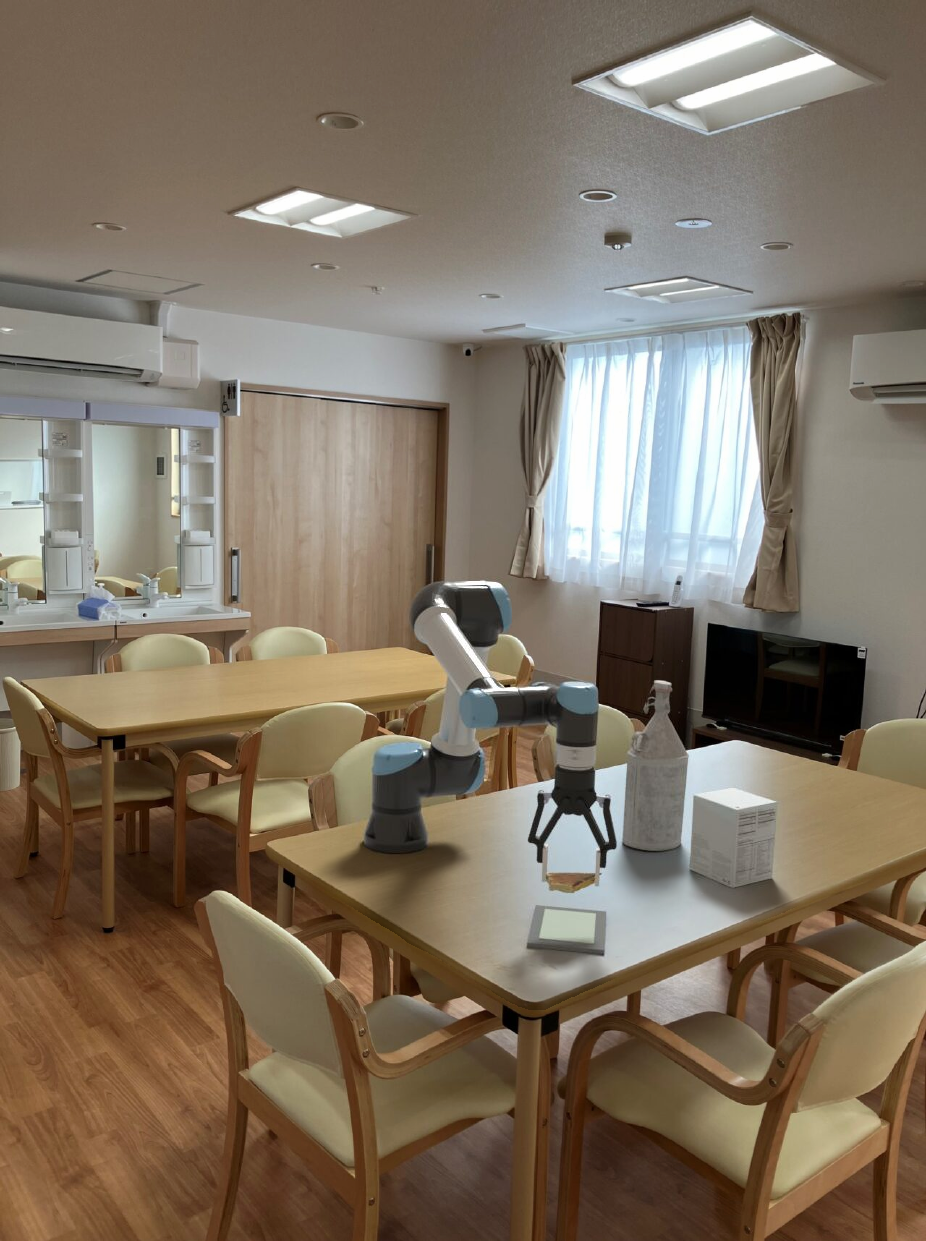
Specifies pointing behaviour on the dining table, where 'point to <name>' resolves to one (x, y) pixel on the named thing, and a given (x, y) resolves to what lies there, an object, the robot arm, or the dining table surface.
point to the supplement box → (733, 836)
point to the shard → (569, 881)
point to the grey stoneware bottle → (655, 781)
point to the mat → (568, 929)
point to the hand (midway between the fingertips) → (570, 881)
